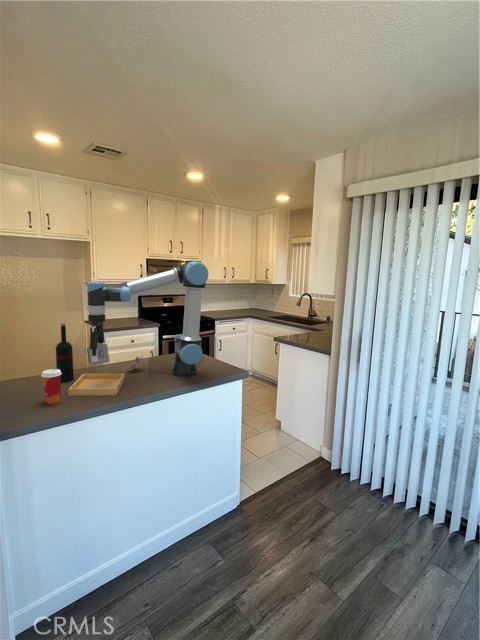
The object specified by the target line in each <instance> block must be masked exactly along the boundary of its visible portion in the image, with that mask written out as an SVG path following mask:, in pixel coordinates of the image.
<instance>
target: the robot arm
mask: <svg viewBox="0 0 480 640" xmlns="http://www.w3.org/2000/svg"><path fill="white" fill-rule="evenodd" d="M208 278H209V270H208V268H207V266H206V265H205V264H204V263H203V262H200V261H198V260H191V261H187V262H185V263H183V264H179V265H177V266H173V268H172V269H169V270H166V271H162V272H158V273H155V274H151V275H148V276H144V277H140V278H136V279H133V280H129V281H126V282H122V283H116V284H114V285H113V286H111V285H110V286H107V285H106V284H105V282H103V281H92V280H91V281H89V282H88V283H87V290H86V291H87V307H86V309H87V312H88V315H87V317H88V318H87V319H88V320H87V322H88V323H91V324H92V326H91V327H90V328H89V329H90V330H89V331H90V334H89V346H90V347H89V346H88V347H89V349H91V354H92V362H98V348H97V345H100V344H106V341H105V340H106V339H105V331H104V330H105V329H104V323H105V322H106V314H105V313H106V302H107V303H109V302H110V303H111V302H114V303H118V302H119V303H120V302H121V303H129V302H131V300H132V296H134V295H135V296H136V295H138V294H142V293H145V292H148V291H152V290H156V289H159V288H164V287H166V286H167V287H168V286H170V285H174V284H178V285H182V287H183V288H184V290H185V297H184V309H183V311H184V314H183V326H182V333H180V334H176V335H175V337H174V360H173V363H172V366H171V372H170V373H171V374H172V375H174V376H176V377H179V378H180V377H181V378H185V377H188V378H189V377H193V376H196V375H197V374H198V367H197V363H198V362H200V360H201V359H202V357H203V348H202V338H201V337H200V327H201V325H200V322H201V313H202V312H201V310H202V297H203V291H204V290H205V289H206V283H207V280H208Z"/></svg>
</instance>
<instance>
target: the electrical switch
mask: <svg viewBox="0 0 480 640" xmlns="http://www.w3.org/2000/svg"><path fill="white" fill-rule="evenodd" d="M89 347H90V345H89V346H88V347H87V348H86V350H87V356H88V357H87V358H88V363H89V365H90V366H96V365H101V364H106V363H108V362H110V355H109V354H110V353H109V350H108V344H107V343H103V344H100V345H97V348H98V362H92V354H91V349H89Z"/></svg>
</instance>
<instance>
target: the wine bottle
mask: <svg viewBox="0 0 480 640" xmlns="http://www.w3.org/2000/svg"><path fill="white" fill-rule="evenodd" d="M66 329H67V327H66V323H60V338H61V339H60V340H61V341H60V342H59V343H57V344H56V346H55V364H56V370H57V369H59V370H60V371H61V373H62V374H61V384H63V383H64V384H65V382H66V383H70V382H73V381H75V380H74V379H75V378H74V377H75V376H74V375H75V374H74V373H75V372H74V357H73V356H74V355H73V345H72V344H71V342H68V341H67V332H66ZM72 380H73V381H72Z"/></svg>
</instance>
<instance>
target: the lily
mask: <svg viewBox="0 0 480 640" xmlns="http://www.w3.org/2000/svg"><path fill="white" fill-rule="evenodd" d="M143 357H144V355H142V356H140V357H139V356H136V357H135V359H134V360H133V363H132V364H130V366H129V368H127V370H126V372H128V371H130V370H131V369H132V368H133V369H135V368H136V367H139V368H140V370H141V372H144V371H143V369H142V368H141V366H140V362H141V361H142V358H143Z"/></svg>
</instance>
